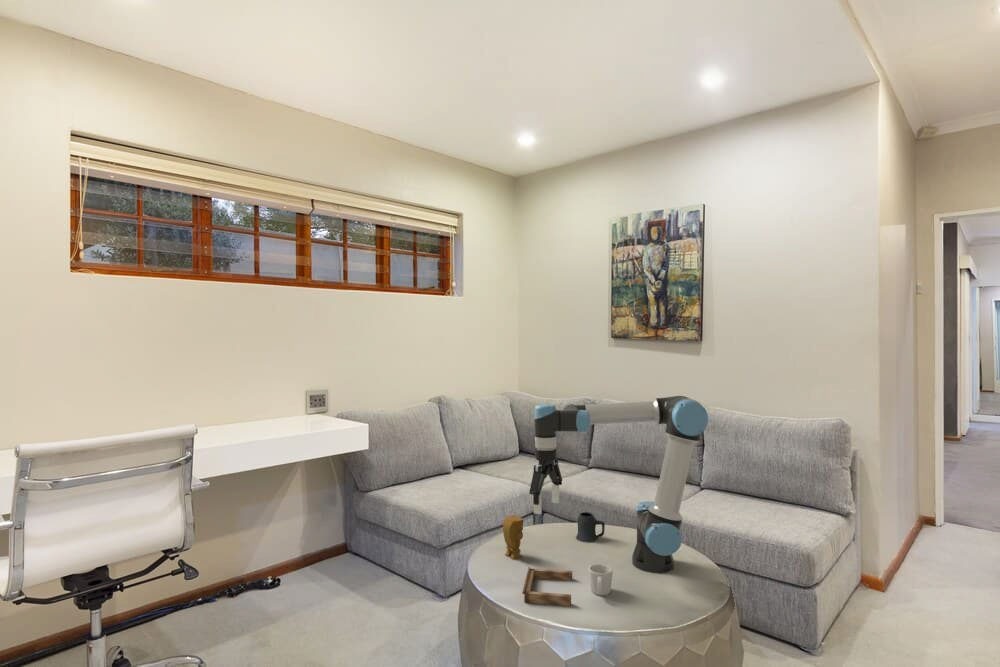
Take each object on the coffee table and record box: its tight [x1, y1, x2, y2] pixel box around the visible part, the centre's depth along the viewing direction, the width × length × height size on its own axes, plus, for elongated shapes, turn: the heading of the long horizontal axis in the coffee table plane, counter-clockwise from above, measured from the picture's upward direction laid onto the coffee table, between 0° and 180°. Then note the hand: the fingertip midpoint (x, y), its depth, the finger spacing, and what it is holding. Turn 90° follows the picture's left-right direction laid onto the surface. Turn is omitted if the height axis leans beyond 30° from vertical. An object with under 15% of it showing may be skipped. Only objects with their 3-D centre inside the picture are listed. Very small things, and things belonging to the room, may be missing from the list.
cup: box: [588, 563, 613, 596], centre depth 182 cm, size 11×8×8 cm
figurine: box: [502, 514, 524, 561], centre depth 213 cm, size 7×7×15 cm
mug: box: [575, 511, 606, 543], centre depth 229 cm, size 12×9×11 cm
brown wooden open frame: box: [522, 566, 573, 607], centre depth 185 cm, size 16×19×4 cm
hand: (546, 508), depth 194 cm, fingers open, 13 cm apart
